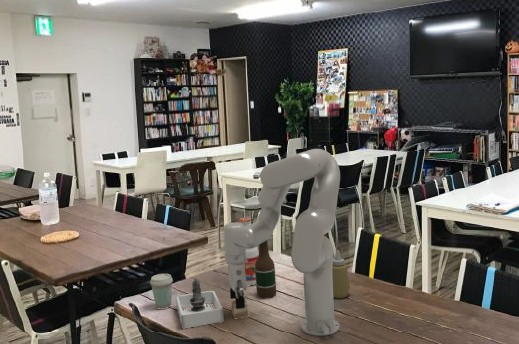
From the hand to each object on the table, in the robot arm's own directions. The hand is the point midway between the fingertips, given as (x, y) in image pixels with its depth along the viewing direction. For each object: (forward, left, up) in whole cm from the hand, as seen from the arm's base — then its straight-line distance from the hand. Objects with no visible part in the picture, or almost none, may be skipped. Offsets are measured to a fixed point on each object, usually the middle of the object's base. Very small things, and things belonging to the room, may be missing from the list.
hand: (237, 303), depth 193 cm
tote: (+5, +13, -5) cm, 15 cm away
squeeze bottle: (+2, -41, -5) cm, 41 cm away
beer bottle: (+14, -15, -5) cm, 21 cm away
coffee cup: (+19, +25, -5) cm, 32 cm away
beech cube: (-1, -1, -5) cm, 5 cm away
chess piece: (+10, +13, -4) cm, 17 cm away
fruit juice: (+31, -12, -5) cm, 34 cm away
